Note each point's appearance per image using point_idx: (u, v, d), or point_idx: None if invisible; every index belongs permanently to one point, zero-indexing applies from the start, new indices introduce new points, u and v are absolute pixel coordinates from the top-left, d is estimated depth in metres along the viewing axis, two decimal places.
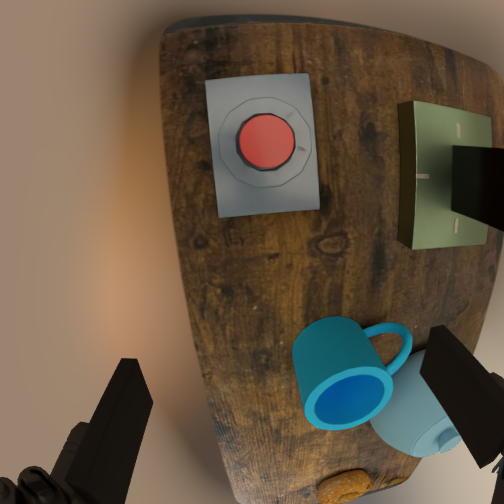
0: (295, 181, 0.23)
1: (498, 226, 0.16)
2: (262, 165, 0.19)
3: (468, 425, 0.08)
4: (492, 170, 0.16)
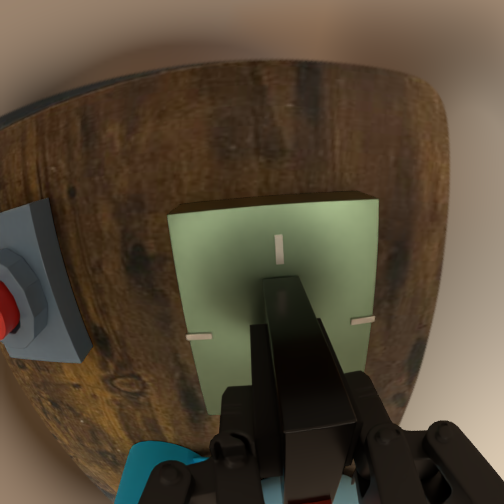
0: (49, 335, 0.16)
1: None
2: None
3: None
4: None
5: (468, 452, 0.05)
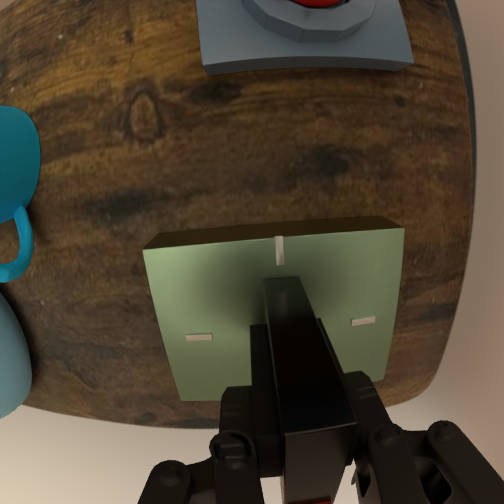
0: (247, 26, 0.11)
1: None
2: None
3: None
4: None
5: (468, 452, 0.05)
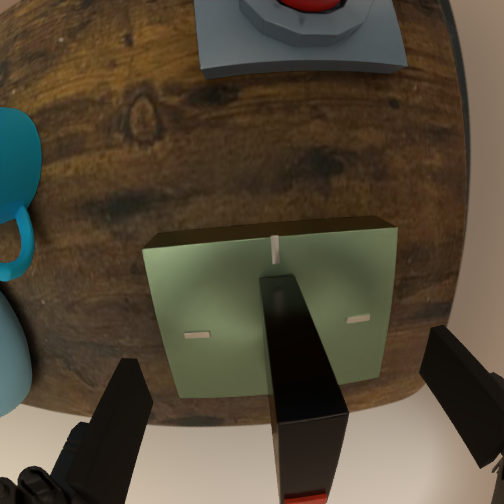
0: (244, 31, 0.12)
1: (275, 463, 0.10)
2: None
3: (468, 425, 0.08)
4: (269, 381, 0.10)
5: None
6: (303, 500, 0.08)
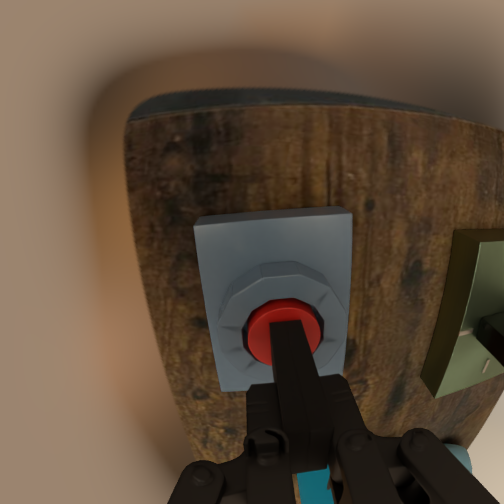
0: None
1: None
2: None
3: None
4: None
5: (446, 460, 0.05)
6: None
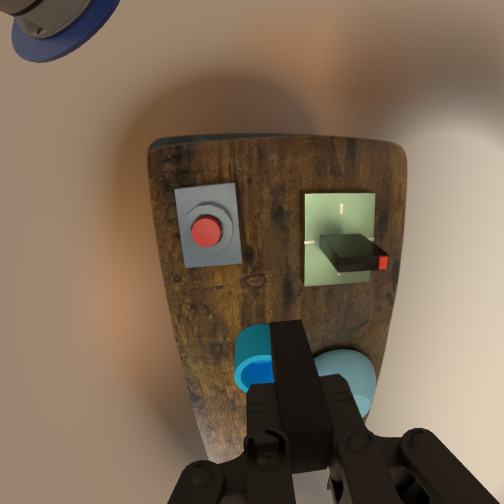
0: (227, 248, 0.41)
1: None
2: (203, 245, 0.38)
3: None
4: None
5: (446, 460, 0.05)
6: (379, 263, 0.32)
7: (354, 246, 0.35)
